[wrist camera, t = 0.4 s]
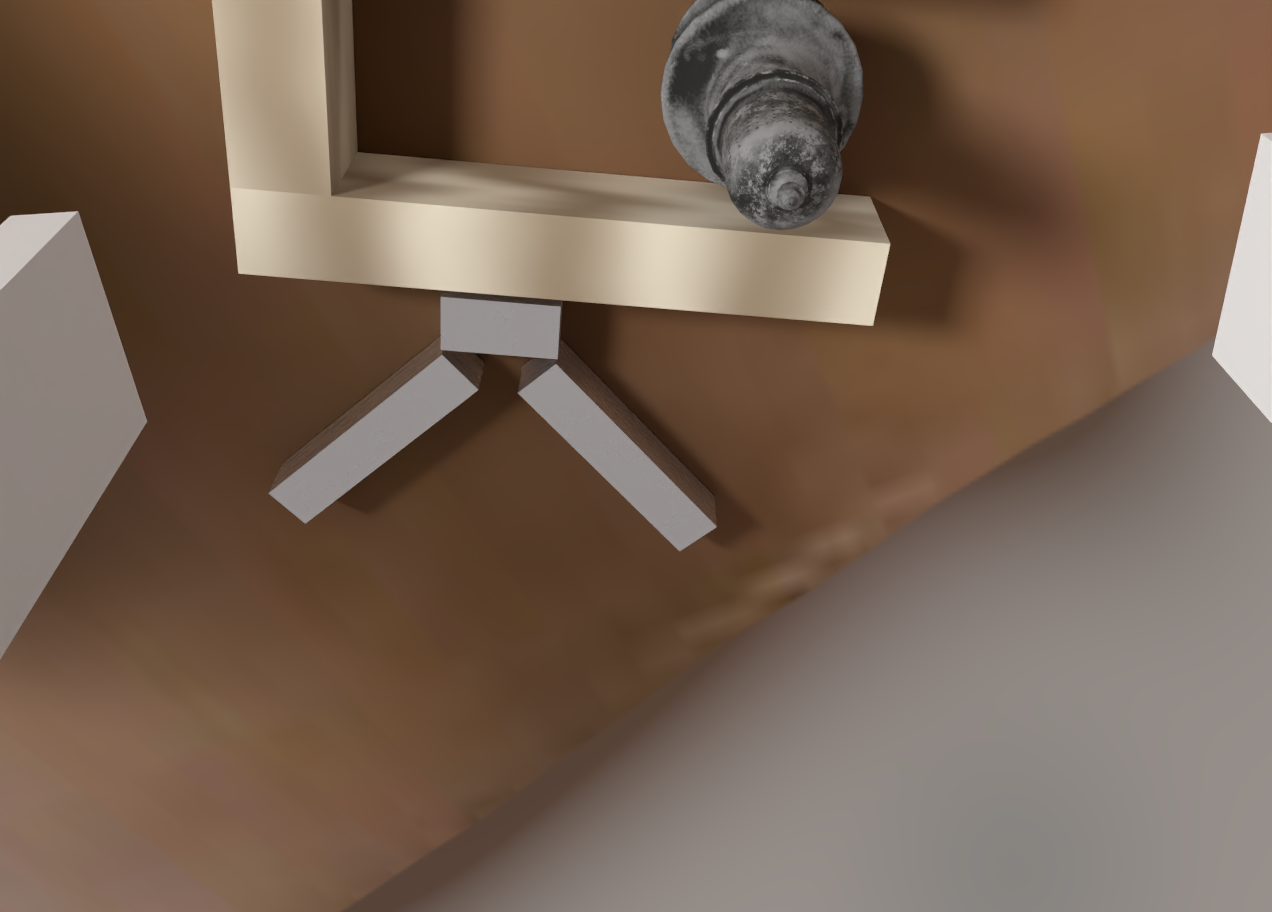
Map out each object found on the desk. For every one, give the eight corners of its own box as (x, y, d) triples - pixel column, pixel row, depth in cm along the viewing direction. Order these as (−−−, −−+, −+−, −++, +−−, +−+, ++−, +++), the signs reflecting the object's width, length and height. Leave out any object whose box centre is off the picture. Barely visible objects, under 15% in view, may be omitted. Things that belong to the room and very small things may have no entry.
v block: (264, 256, 42) (248, 281, 40) (744, 296, 43) (748, 322, 41) (284, 491, 47) (271, 521, 45) (710, 523, 48) (713, 553, 46)
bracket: (271, 224, 41) (238, 273, 38) (235, -235, 34) (190, -225, 31) (854, 273, 42) (872, 325, 39) (942, -164, 35) (974, -147, 31)
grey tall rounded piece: (859, 129, 39) (934, 286, 29) (683, 172, 40) (696, 340, 30) (830, -59, 36) (901, 44, 26) (639, -8, 37) (637, 111, 27)
